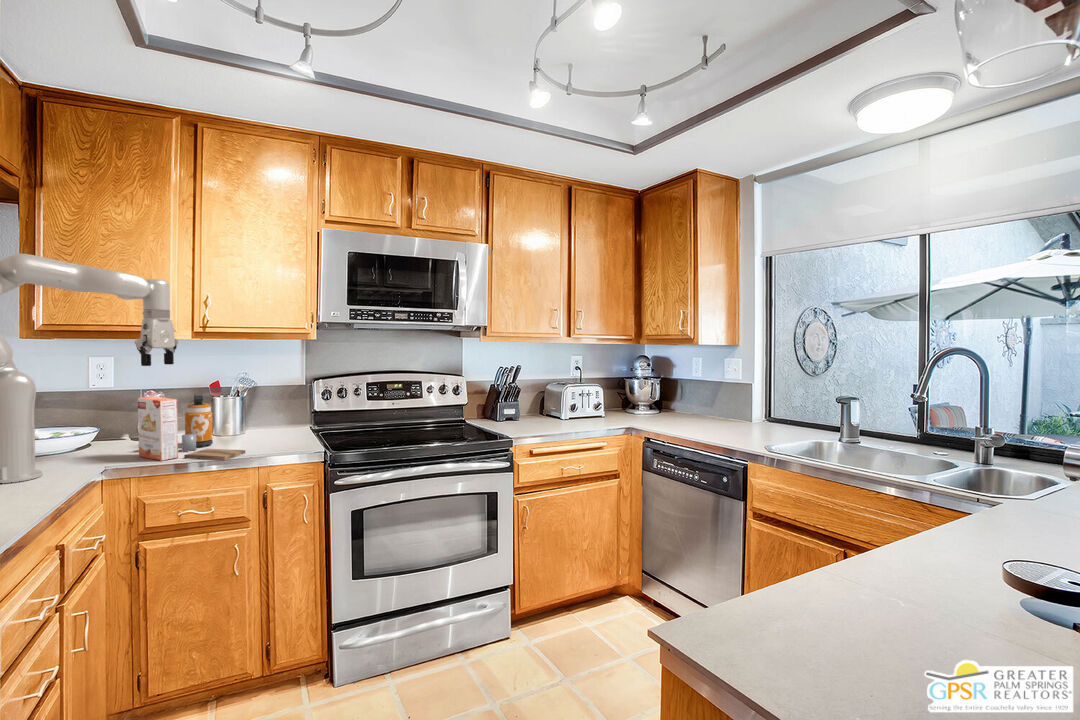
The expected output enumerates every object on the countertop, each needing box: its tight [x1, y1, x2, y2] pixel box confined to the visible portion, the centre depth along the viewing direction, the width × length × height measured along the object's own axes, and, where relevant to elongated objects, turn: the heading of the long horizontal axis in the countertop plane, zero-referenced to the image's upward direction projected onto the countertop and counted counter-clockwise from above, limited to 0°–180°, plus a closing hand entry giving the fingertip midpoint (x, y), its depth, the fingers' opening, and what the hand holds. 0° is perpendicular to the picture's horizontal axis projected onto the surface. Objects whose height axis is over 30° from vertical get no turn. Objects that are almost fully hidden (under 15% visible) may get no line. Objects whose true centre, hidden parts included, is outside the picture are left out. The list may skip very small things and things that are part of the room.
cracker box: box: [137, 396, 179, 462], centre depth 188 cm, size 14×6×21 cm, turn 62°
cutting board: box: [183, 448, 246, 461], centre depth 193 cm, size 11×15×1 cm
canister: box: [184, 393, 214, 448], centre depth 210 cm, size 9×11×20 cm
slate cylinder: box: [181, 433, 197, 453], centre depth 200 cm, size 4×4×6 cm
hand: (157, 365), depth 188 cm, fingers open, 9 cm apart
